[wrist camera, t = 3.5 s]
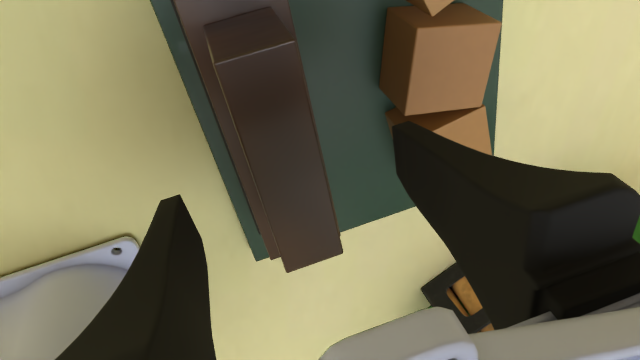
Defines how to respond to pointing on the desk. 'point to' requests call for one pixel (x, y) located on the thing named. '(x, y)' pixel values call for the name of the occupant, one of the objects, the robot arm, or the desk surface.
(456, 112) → the cardboard box
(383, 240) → the desk surface
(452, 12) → the light brown cube
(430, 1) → the wooden block
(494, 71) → the desk board
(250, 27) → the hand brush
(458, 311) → the ammunition clip
